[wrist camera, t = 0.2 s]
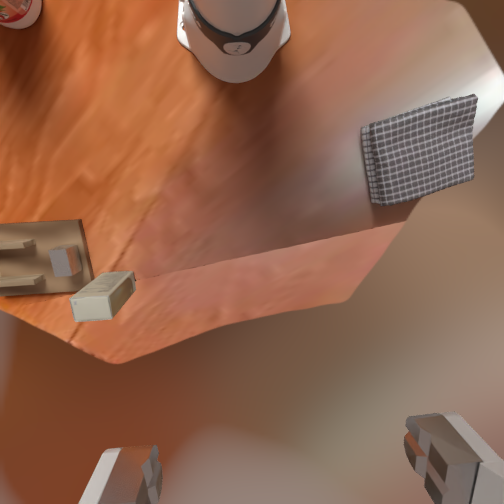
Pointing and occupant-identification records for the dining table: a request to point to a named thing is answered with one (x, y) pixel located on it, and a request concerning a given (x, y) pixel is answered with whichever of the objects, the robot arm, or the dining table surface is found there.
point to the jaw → (65, 260)
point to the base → (40, 257)
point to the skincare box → (103, 296)
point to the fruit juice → (19, 13)
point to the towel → (420, 150)
